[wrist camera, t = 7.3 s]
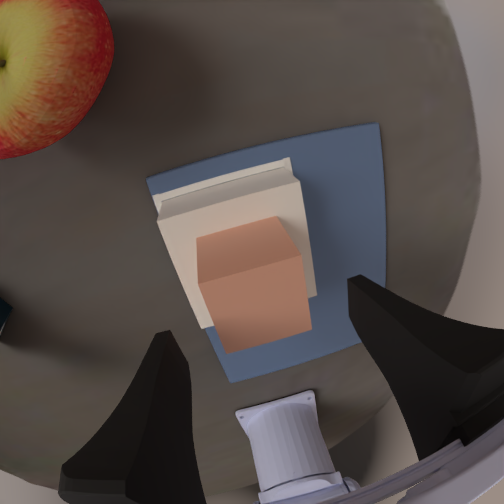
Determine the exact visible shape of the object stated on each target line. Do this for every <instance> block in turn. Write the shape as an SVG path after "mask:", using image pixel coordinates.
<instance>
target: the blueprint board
mask: <svg viewBox="0 0 504 504" xmlns="http://www.w3.org/2000/svg"><path fill="white" fill-rule="evenodd" d="M282 167H284V168H285V169H286V170H287V171H288V172H290V173H291V174H292V175H293V176H294V177H295V178H297V179H298V180H299V181H300V185H301V191H302V197H303V203H304V209H305V215H306V221H307V227H308V234H309V240H310V247H311V254H312V261H313V268H314V276H315V283H316V291H317V296H314V297H311V298H308V303H309V310H310V318H311V325H312V330H309V331H306V332H302V333H299V334H296V335H293V336H290V337H286V338H283V339H279V340H276V341H273V342H269V343H266V344H262V345H259V346H255V347H251V348H248V349H244V350H240V351H236V352H233V353H229V354H226V352H225V350H224V348H223V345H222V343H221V341H220V338H219V336H218V333H217V331H216V328H215V326H210V327H207V328H205V330H206V332H207V335H208V337H209V339H210V341H211V343H212V345H213V348H214V350H215V352H216V354H217V356H218V358H219V360H220V363H221V365H222V367H223V369H224V371H225V373H226V375H227V377H228V379H229V381H230V383H234V382H237V381H241V380H245V379H249V378H253V377H256V376H260V375H264V374H267V373H271V372H274V371H278V370H281V369H284V368H288V367H291V366H294V365H297V364H301V363H304V362H307V361H310V360H313V359H316V358H319V357H322V356H325V355H328V354H331V353H333V352H336V351H339V350H342V349H345V348H347V347H350V346H353V345H355V344H358V343H361V342H362V341H361V340H360V338H359V336H358V334H357V332H356V330H355V328H354V326H353V324H352V322H351V320H350V318H349V312H348V289H347V279H348V278H351V277H354V276H357V275H360V274H361V275H363V276H365V277H367V278H368V279H370V280H372V281H373V282H375V283H377V284H379V285H380V286H382V287H384V288H385V279H386V209H385V187H384V172H383V159H382V148H381V138H380V129H379V123H376V122H373V123H366V124H359V125H353V126H347V127H341V128H336V129H330V130H325V131H319V132H314V133H309V134H304V135H299V136H295V137H290V138H286V139H281V140H277V141H272V142H268V143H264V144H260V145H255V146H251V147H247V148H244V149H240V150H236V151H232V152H228V153H225V154H221V155H217V156H214V157H210V158H207V159H203V160H200V161H196V162H193V163H190V164H186V165H183V166H180V167H177V168H174V169H170V170H167V171H164V172H161V173H158V174H155V175H152V176H149V177H147V178H146V182H147V184H148V187H149V190H150V193H151V196H152V199H153V201H154V204H155V207H156V210H157V212H158V215H159V212H160V209H161V205H162V202H163V201H165V200H168V199H171V198H174V197H177V196H181V195H184V194H187V193H191V192H194V191H197V190H201V189H204V188H207V187H211V186H214V185H218V184H221V183H225V182H229V181H232V180H236V179H239V178H243V177H247V176H251V175H254V174H258V173H262V172H266V171H270V170H274V169H278V168H282Z"/></svg>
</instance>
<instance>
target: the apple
mask: <svg viewBox="0 0 504 504" xmlns="http://www.w3.org/2000/svg"><path fill="white" fill-rule="evenodd" d="M113 56H114V39H113V34H112V29H111V26H110V23H109V20H108V17H107V15H106V13H105V11H104V9H103V7H102V6H101V4H100V2H99V1H98V0H0V159H6V158H12V157H17V156H22V155H26V154H29V153H32V152H34V151H37V150H40V149H42V148H45V147H47V146H49V145H51V144H53V143H55V142H56V141H58V140H60V139H61V138H63V137H64V136H66V135H67V134H68V133H70V132H71V131H72V130H73V129H74V128H75V127H76V126H77V125H78V124H79V122H80V121H81V120H82V119H83V118H84V116H85V115H86V114H87V112H88V111H89V110H90V108H91V107H92V105H93V103H94V102H95V100H96V98H97V97H98V95H99V93H100V91H101V89H102V87H103V85H104V83H105V81H106V79H107V76H108V73H109V71H110V68H111V65H112V61H113Z"/></svg>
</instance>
